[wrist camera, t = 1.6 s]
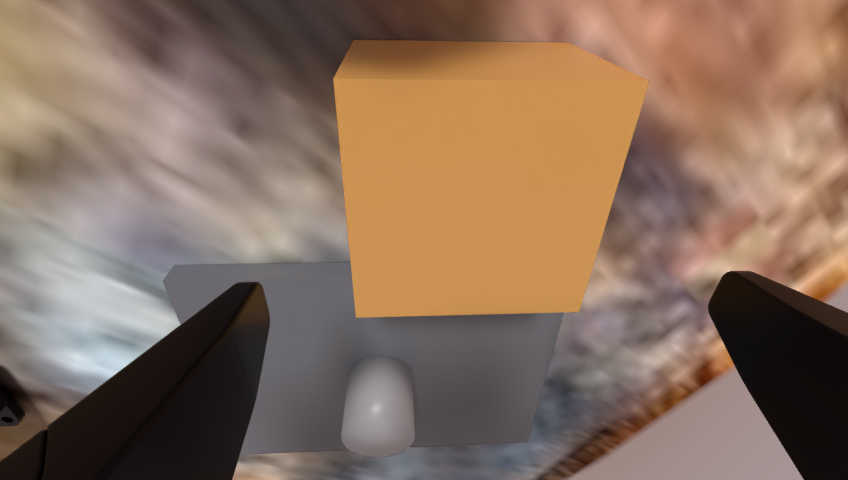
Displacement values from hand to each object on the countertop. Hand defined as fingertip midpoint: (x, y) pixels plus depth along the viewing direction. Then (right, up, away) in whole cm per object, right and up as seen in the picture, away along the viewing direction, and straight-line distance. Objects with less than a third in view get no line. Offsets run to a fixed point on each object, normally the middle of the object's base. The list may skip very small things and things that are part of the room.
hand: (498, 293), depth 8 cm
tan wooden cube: (0, +4, +6) cm, 8 cm away
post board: (-4, -5, +12) cm, 14 cm away
